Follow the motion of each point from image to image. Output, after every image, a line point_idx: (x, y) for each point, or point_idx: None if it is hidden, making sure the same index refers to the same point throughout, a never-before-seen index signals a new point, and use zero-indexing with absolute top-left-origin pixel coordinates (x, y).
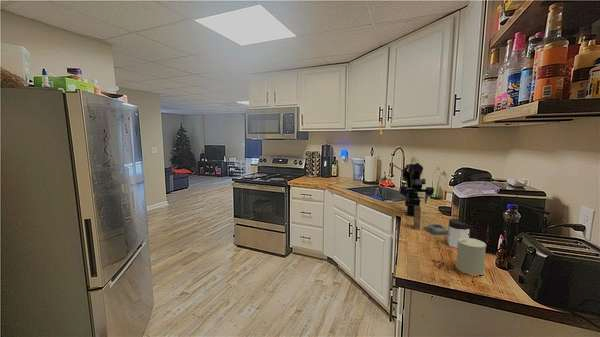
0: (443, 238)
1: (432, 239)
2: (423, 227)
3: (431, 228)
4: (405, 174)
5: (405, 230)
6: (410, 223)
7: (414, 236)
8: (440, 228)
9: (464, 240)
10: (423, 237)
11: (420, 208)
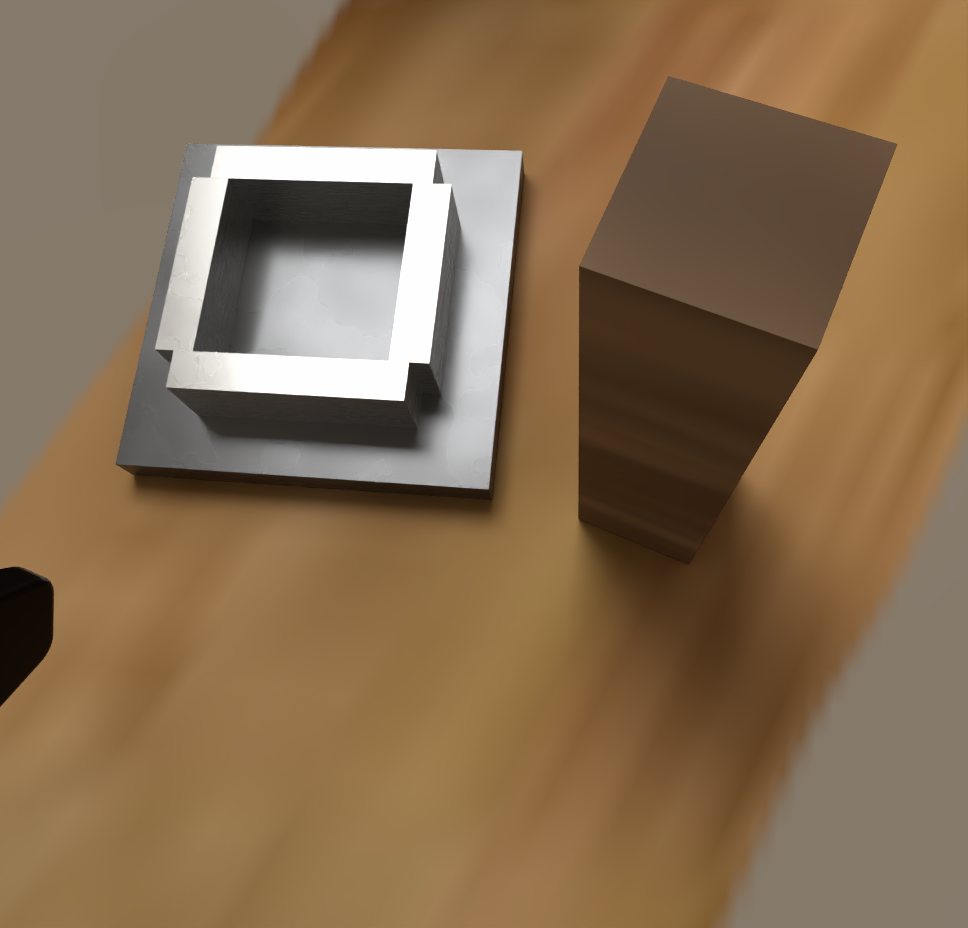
0: (439, 39)
1: (644, 9)
2: (489, 494)
3: (450, 260)
4: None
5: (950, 422)
6: (609, 880)
7: (897, 129)
8: (326, 150)
9: None
10: (752, 84)
11: (679, 98)
